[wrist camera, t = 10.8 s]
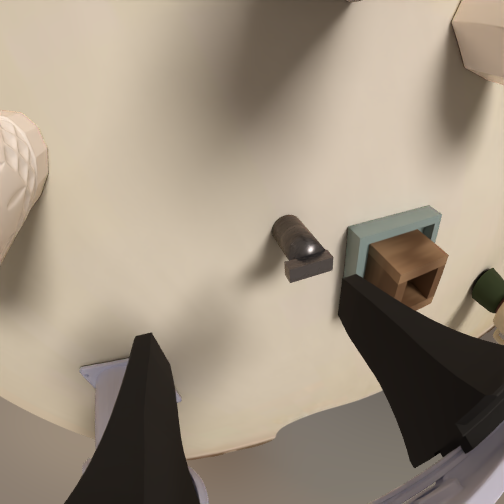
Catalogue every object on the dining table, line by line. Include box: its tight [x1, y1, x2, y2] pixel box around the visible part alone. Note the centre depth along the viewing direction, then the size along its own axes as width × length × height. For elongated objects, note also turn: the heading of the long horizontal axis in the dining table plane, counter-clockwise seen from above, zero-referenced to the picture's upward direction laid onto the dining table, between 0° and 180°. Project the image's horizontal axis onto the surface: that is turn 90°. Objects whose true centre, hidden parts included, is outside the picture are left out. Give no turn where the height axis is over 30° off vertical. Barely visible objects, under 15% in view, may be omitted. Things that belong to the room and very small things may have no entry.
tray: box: [343, 205, 442, 278], centre depth 25 cm, size 10×10×2 cm
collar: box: [364, 229, 448, 311], centre depth 24 cm, size 6×6×4 cm
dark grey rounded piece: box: [272, 215, 333, 283], centre depth 19 cm, size 2×3×5 cm
